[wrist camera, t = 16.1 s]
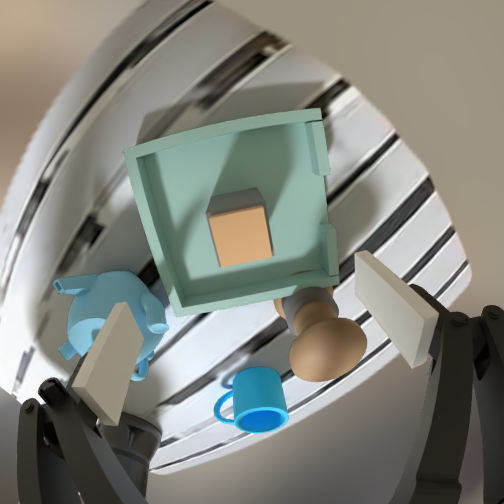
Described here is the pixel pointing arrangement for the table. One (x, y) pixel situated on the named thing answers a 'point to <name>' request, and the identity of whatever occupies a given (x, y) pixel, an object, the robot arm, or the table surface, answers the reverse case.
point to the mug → (256, 401)
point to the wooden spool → (320, 335)
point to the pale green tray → (230, 180)
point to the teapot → (101, 304)
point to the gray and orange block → (239, 227)
